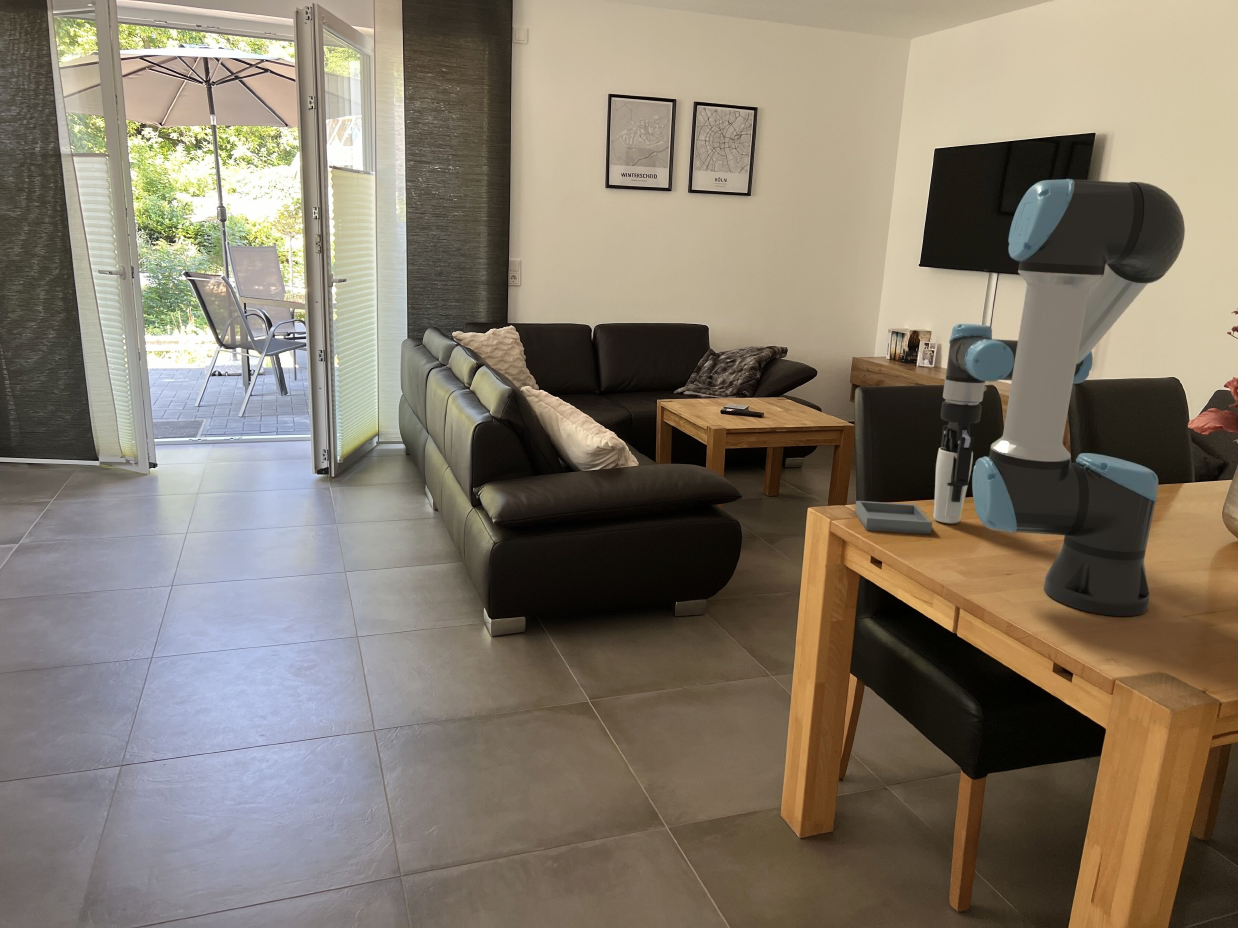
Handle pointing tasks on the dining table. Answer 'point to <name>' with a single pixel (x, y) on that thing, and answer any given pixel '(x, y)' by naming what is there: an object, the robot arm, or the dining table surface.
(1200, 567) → the dining table surface
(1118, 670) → the dining table surface
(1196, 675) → the dining table surface
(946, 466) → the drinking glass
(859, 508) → the tray
